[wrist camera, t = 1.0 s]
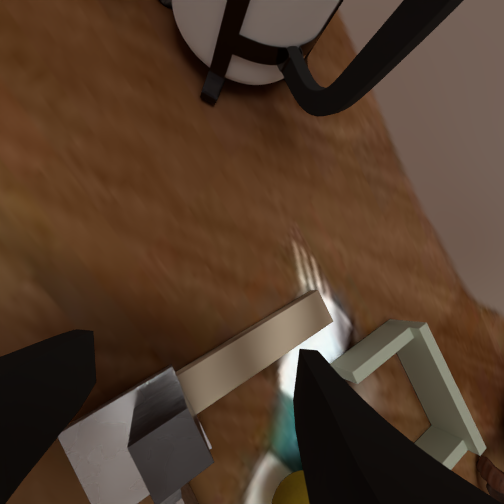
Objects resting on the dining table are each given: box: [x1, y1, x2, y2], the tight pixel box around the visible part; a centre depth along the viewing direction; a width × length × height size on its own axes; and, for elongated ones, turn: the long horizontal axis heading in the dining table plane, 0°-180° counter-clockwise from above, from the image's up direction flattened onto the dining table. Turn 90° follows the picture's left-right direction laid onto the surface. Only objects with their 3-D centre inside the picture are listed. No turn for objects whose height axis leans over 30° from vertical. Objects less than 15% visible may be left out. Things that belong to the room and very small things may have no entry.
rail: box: [175, 290, 333, 414], centre depth 22 cm, size 18×3×1 cm, turn 117°
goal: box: [330, 319, 486, 470], centre depth 24 cm, size 10×12×4 cm
